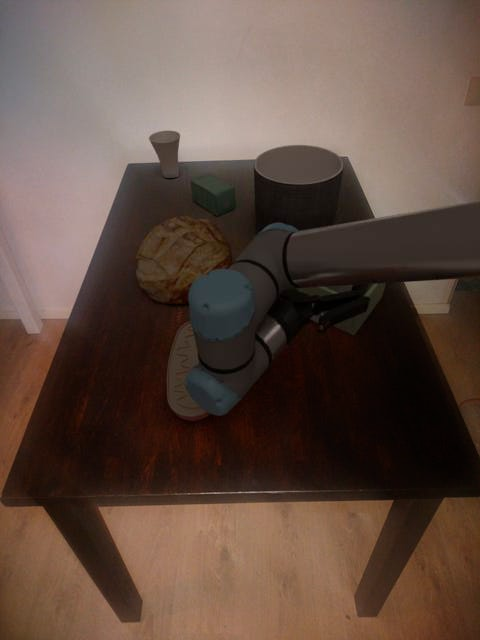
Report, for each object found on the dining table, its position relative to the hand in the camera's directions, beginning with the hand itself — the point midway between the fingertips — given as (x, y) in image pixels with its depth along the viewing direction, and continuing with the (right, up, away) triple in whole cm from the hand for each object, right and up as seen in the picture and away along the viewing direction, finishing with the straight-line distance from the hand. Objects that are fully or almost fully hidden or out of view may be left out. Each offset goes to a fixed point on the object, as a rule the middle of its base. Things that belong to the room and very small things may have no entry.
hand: (334, 258), depth 70 cm
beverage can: (+6, -7, +18) cm, 20 cm away
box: (-26, +25, +52) cm, 64 cm away
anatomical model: (-26, -23, +6) cm, 35 cm away
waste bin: (+6, -7, +19) cm, 21 cm away
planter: (-2, +14, +40) cm, 42 cm away
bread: (-31, +1, +29) cm, 43 cm away
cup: (-42, +41, +68) cm, 90 cm away
